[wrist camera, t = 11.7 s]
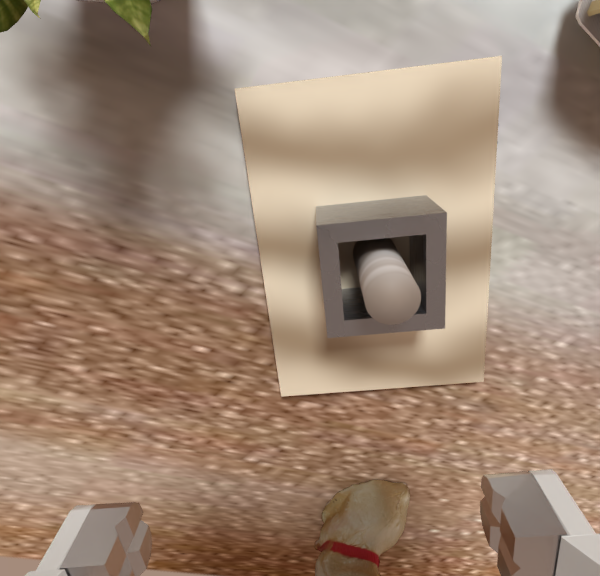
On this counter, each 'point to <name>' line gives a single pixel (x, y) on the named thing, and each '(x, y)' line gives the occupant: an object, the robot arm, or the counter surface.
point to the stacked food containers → (589, 18)
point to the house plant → (126, 3)
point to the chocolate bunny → (361, 528)
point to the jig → (368, 187)
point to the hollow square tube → (376, 225)
